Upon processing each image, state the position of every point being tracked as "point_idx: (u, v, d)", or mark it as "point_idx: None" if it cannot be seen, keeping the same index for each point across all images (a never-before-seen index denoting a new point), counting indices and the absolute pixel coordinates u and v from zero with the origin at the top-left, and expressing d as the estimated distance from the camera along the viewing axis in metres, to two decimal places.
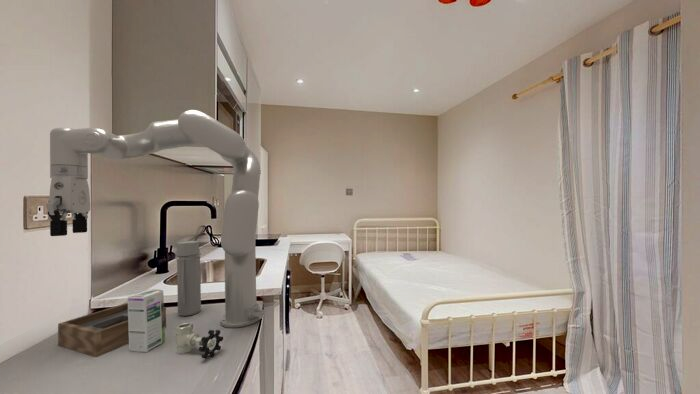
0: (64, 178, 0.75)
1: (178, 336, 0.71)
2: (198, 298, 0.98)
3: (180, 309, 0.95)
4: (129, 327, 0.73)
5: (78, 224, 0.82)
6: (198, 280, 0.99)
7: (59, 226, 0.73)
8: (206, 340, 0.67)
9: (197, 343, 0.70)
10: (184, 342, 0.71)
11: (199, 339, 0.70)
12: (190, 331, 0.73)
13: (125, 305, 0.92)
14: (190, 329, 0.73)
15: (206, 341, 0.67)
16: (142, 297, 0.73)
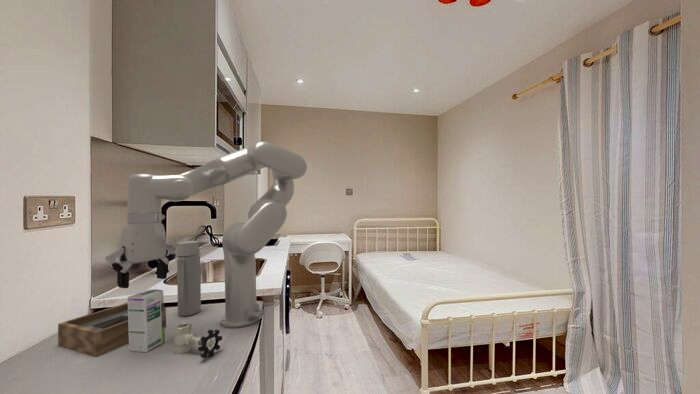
0: None
1: (177, 336, 0.71)
2: (198, 298, 0.98)
3: (180, 309, 0.95)
4: (129, 327, 0.73)
5: None
6: (198, 280, 0.99)
7: None
8: (205, 340, 0.68)
9: (196, 343, 0.70)
10: (183, 342, 0.71)
11: (198, 339, 0.70)
12: (189, 331, 0.73)
13: (125, 305, 0.92)
14: (189, 329, 0.73)
15: (205, 341, 0.68)
16: (142, 297, 0.73)
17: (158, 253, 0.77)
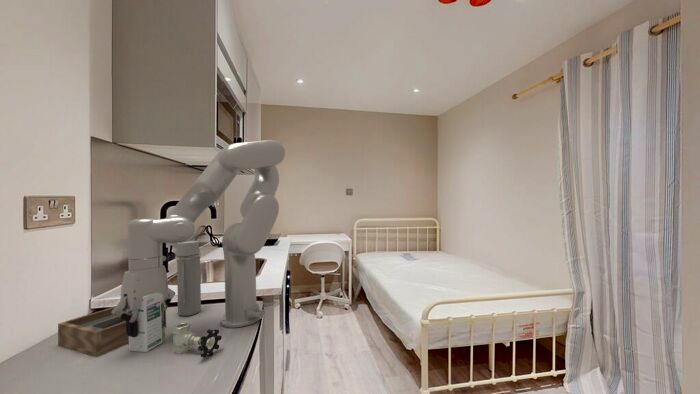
0: None
1: (176, 336, 0.71)
2: (198, 298, 0.98)
3: (180, 309, 0.95)
4: None
5: None
6: (198, 280, 0.99)
7: None
8: (205, 339, 0.68)
9: (195, 342, 0.70)
10: (182, 342, 0.71)
11: (197, 338, 0.71)
12: (188, 331, 0.73)
13: None
14: (188, 329, 0.73)
15: (205, 340, 0.68)
16: (142, 297, 0.73)
17: None
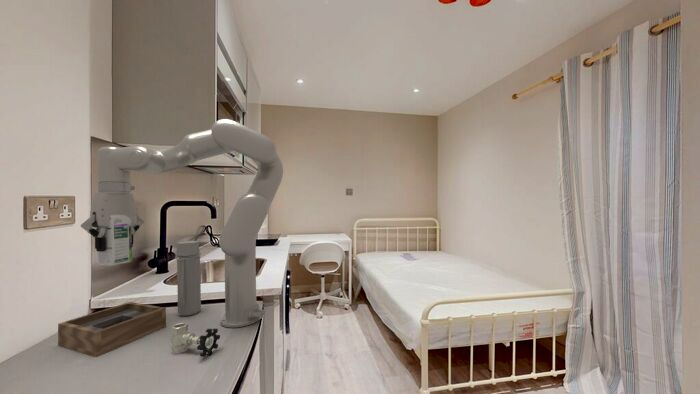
0: None
1: (174, 336, 0.71)
2: (198, 298, 0.98)
3: (180, 309, 0.95)
4: None
5: None
6: (198, 280, 0.99)
7: None
8: (204, 338, 0.68)
9: (194, 342, 0.70)
10: (180, 342, 0.71)
11: (196, 338, 0.71)
12: (186, 331, 0.73)
13: (125, 305, 0.92)
14: (186, 329, 0.73)
15: (204, 339, 0.68)
16: (110, 216, 0.80)
17: None
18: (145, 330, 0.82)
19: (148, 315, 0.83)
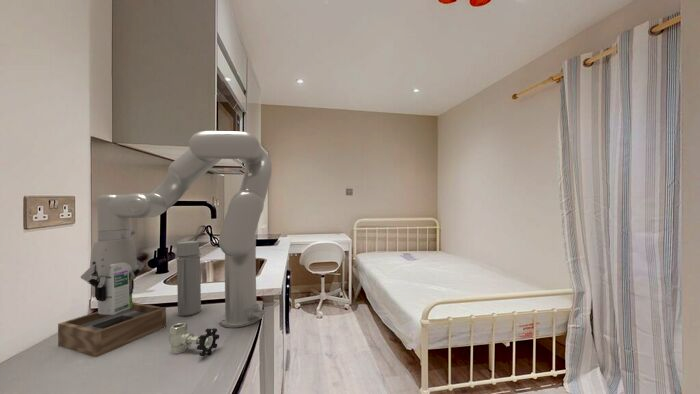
0: None
1: (173, 336, 0.71)
2: (198, 298, 0.98)
3: (180, 309, 0.95)
4: None
5: None
6: (198, 280, 0.99)
7: None
8: (204, 338, 0.68)
9: (193, 342, 0.70)
10: (179, 342, 0.71)
11: (195, 338, 0.71)
12: (185, 331, 0.73)
13: None
14: (185, 329, 0.73)
15: (204, 339, 0.68)
16: (110, 265, 0.80)
17: None
18: (145, 330, 0.82)
19: (148, 315, 0.83)
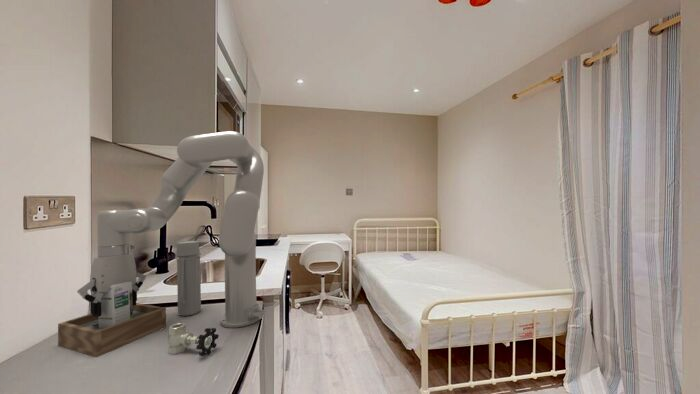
0: None
1: (171, 336, 0.71)
2: (198, 298, 0.98)
3: (180, 309, 0.95)
4: None
5: None
6: (198, 280, 0.99)
7: None
8: (203, 338, 0.69)
9: (192, 342, 0.71)
10: (178, 342, 0.71)
11: (194, 338, 0.71)
12: (183, 331, 0.73)
13: None
14: (183, 329, 0.73)
15: (203, 339, 0.69)
16: None
17: None
18: (145, 330, 0.82)
19: (148, 315, 0.83)
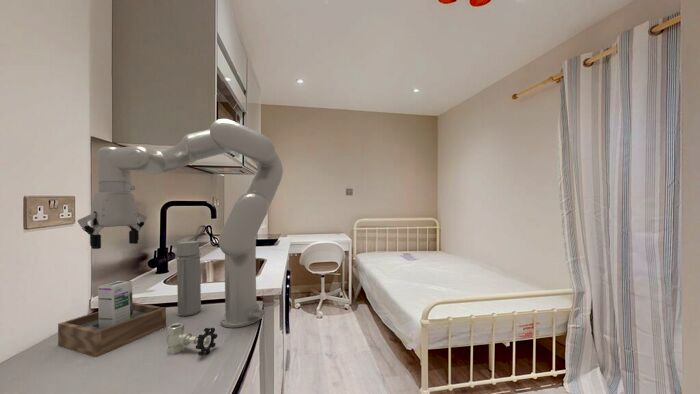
0: None
1: (170, 336, 0.71)
2: (198, 298, 0.98)
3: (180, 309, 0.95)
4: (99, 314, 0.80)
5: None
6: (198, 280, 0.99)
7: None
8: (203, 337, 0.69)
9: (191, 342, 0.71)
10: (177, 342, 0.71)
11: (193, 338, 0.71)
12: (182, 331, 0.73)
13: None
14: (182, 329, 0.73)
15: (203, 338, 0.69)
16: (110, 287, 0.80)
17: (129, 220, 0.85)
18: (145, 330, 0.82)
19: (148, 315, 0.83)
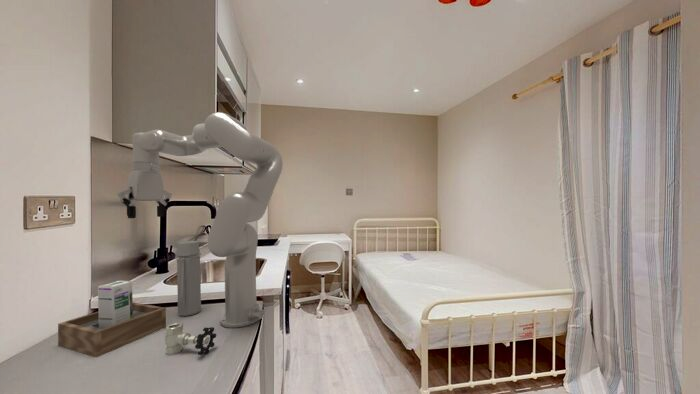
0: None
1: (169, 337, 0.71)
2: (198, 298, 0.98)
3: (180, 309, 0.95)
4: (99, 314, 0.80)
5: None
6: (198, 280, 0.99)
7: None
8: (202, 337, 0.69)
9: (190, 341, 0.71)
10: (175, 342, 0.71)
11: (192, 337, 0.71)
12: (181, 331, 0.73)
13: None
14: (181, 329, 0.73)
15: (202, 338, 0.69)
16: (110, 287, 0.80)
17: (158, 195, 0.99)
18: (145, 330, 0.82)
19: (148, 315, 0.83)
